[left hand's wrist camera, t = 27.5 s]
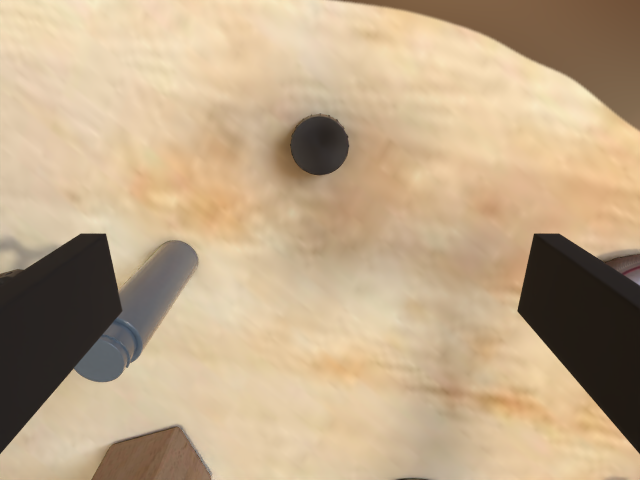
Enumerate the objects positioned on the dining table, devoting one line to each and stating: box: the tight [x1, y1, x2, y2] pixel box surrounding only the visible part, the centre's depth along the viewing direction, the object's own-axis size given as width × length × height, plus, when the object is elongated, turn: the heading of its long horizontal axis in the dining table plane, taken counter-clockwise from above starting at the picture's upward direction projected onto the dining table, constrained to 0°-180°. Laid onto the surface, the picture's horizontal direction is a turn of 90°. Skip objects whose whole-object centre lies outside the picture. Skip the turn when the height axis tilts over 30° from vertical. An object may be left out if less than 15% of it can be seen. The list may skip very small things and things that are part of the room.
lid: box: [290, 113, 349, 175], centre depth 36 cm, size 5×5×2 cm
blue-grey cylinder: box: [74, 241, 198, 382], centre depth 34 cm, size 4×4×16 cm
